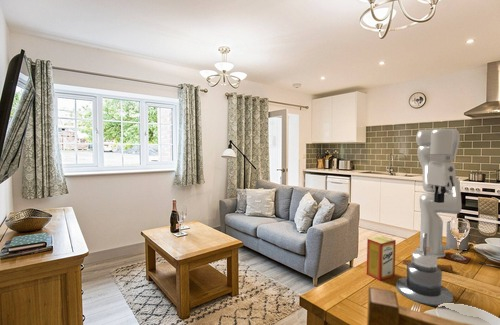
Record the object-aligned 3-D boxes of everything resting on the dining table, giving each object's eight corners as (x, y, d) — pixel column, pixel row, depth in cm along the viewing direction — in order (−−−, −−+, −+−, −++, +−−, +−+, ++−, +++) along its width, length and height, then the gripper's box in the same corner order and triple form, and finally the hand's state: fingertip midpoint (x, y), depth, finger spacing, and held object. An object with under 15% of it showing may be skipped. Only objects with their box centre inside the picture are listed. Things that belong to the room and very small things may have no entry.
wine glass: (457, 244, 151) (458, 218, 150) (473, 250, 141) (473, 223, 141) (441, 244, 151) (442, 219, 150) (455, 251, 141) (456, 223, 140)
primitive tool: (402, 264, 125) (402, 257, 125) (402, 260, 129) (403, 253, 129) (453, 274, 115) (453, 267, 115) (451, 270, 120) (451, 262, 119)
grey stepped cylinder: (426, 279, 110) (427, 257, 109) (466, 304, 92) (467, 278, 91) (386, 281, 108) (386, 259, 107) (418, 308, 90) (419, 280, 89)
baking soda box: (379, 280, 109) (380, 242, 108) (366, 274, 114) (367, 238, 114) (394, 275, 113) (395, 239, 112) (380, 269, 119) (381, 234, 118)
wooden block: (436, 274, 94) (437, 238, 93) (410, 268, 99) (411, 234, 98) (438, 258, 107) (439, 227, 107) (415, 253, 112) (416, 223, 112)
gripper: (465, 159, 102) (463, 206, 103) (433, 157, 117) (432, 198, 118) (449, 160, 101) (447, 206, 102) (418, 158, 116) (417, 199, 117)
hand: (439, 202), depth 110 cm, fingers closed
